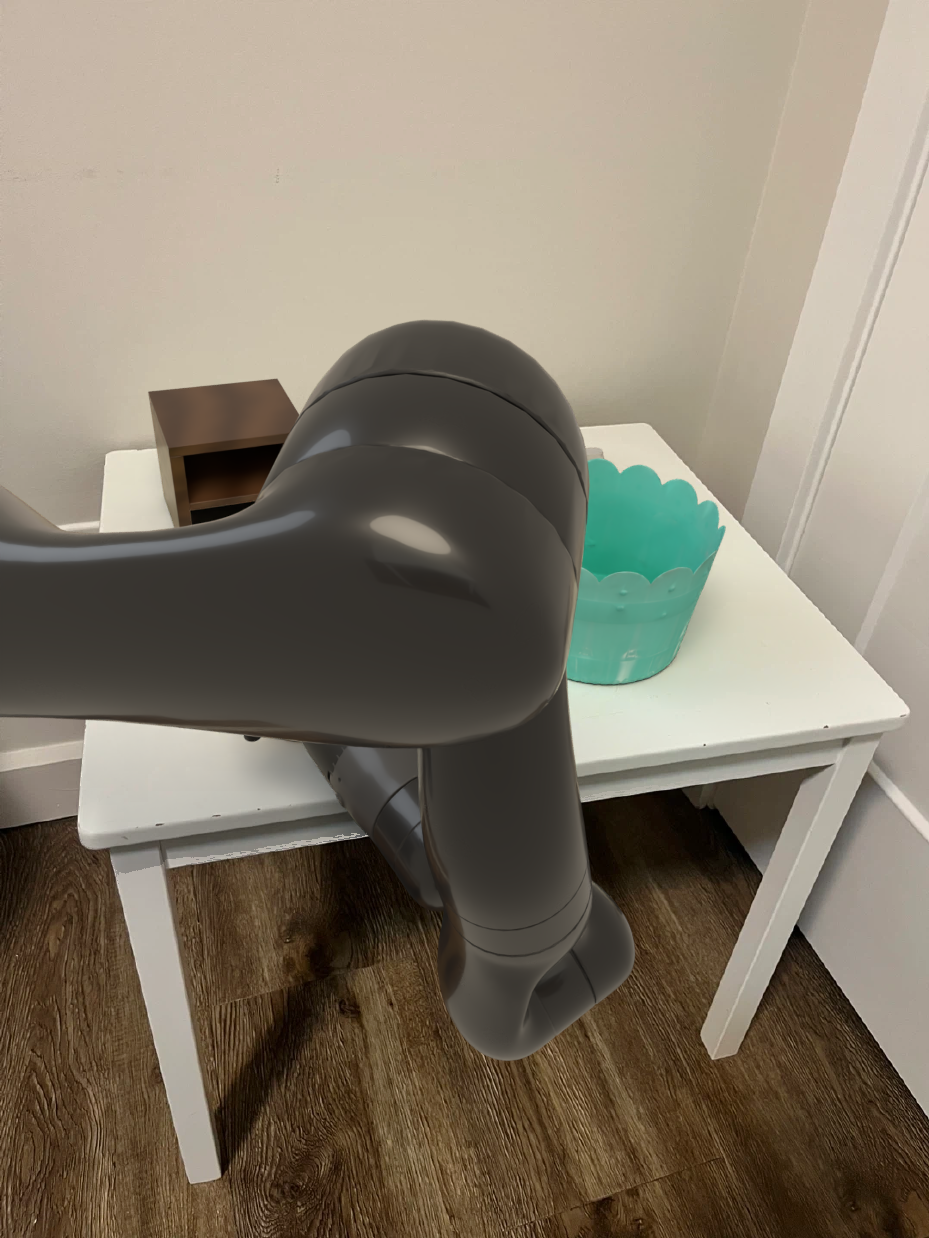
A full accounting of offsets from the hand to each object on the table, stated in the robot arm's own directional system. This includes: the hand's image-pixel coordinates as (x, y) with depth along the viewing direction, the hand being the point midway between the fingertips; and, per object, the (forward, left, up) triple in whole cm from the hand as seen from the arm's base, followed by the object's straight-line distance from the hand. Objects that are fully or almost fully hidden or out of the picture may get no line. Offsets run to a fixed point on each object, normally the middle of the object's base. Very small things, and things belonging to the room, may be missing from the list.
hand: (276, 618), depth 70 cm
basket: (+29, 0, -9) cm, 31 cm away
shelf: (+2, +28, -8) cm, 30 cm away
